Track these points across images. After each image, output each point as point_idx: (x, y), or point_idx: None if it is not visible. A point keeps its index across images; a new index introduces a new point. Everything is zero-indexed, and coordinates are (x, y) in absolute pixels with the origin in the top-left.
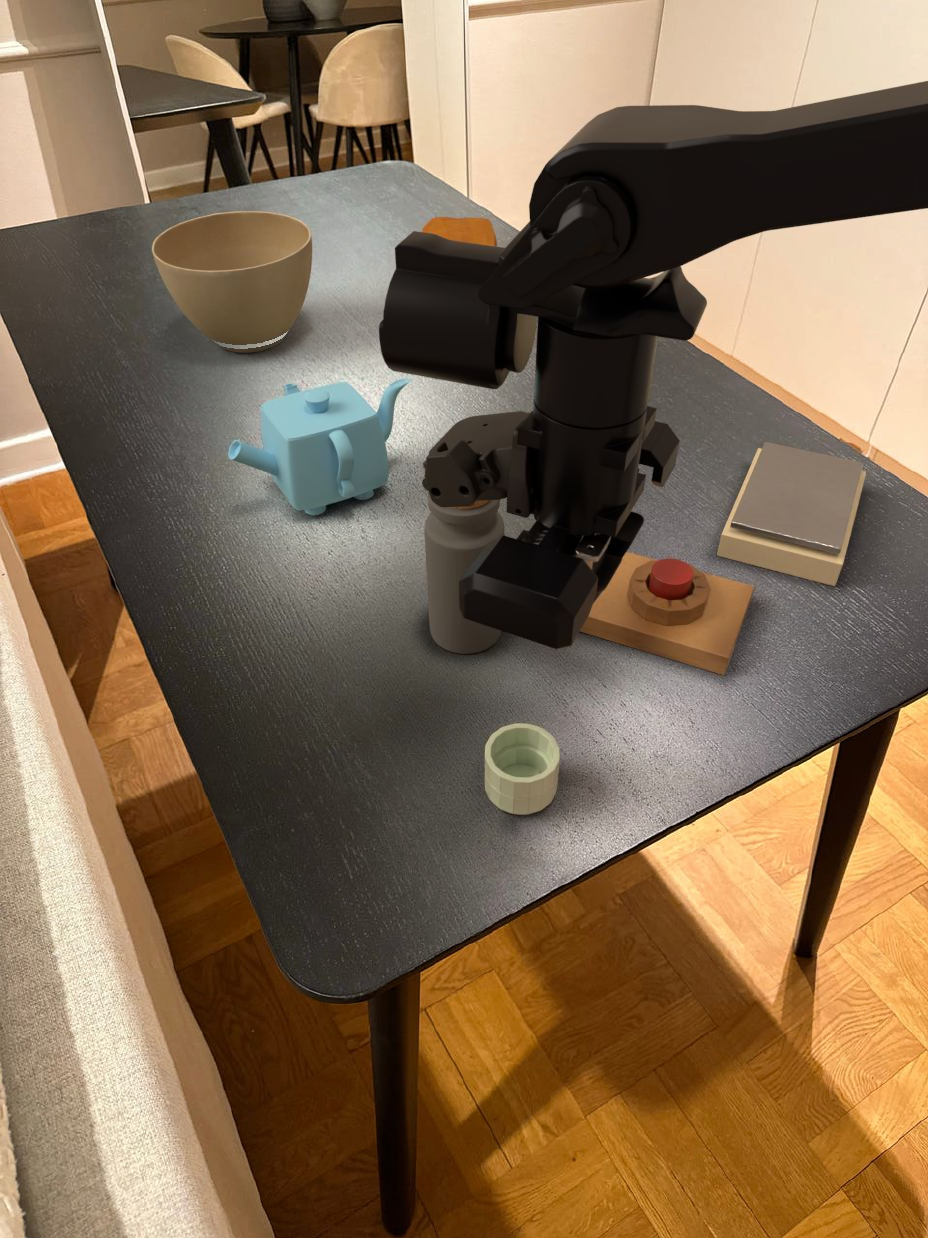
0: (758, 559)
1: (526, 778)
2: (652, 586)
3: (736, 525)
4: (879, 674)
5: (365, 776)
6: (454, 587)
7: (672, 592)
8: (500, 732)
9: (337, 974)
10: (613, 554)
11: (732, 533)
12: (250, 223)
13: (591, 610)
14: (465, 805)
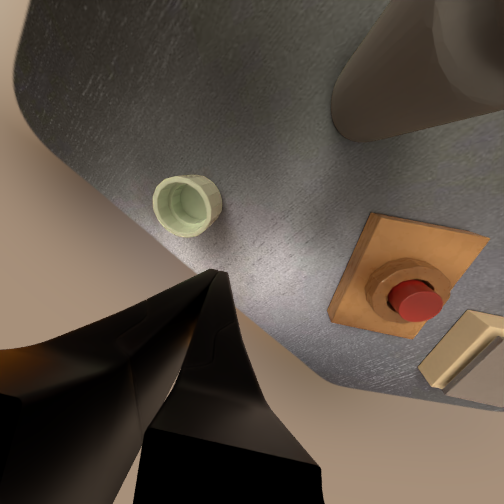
0: (453, 337)
1: (159, 217)
2: (405, 286)
3: (497, 342)
4: (336, 373)
5: (162, 60)
6: (372, 49)
7: (393, 302)
8: (193, 186)
9: (29, 116)
10: (164, 502)
11: (488, 333)
12: None
13: (384, 229)
14: (173, 164)
